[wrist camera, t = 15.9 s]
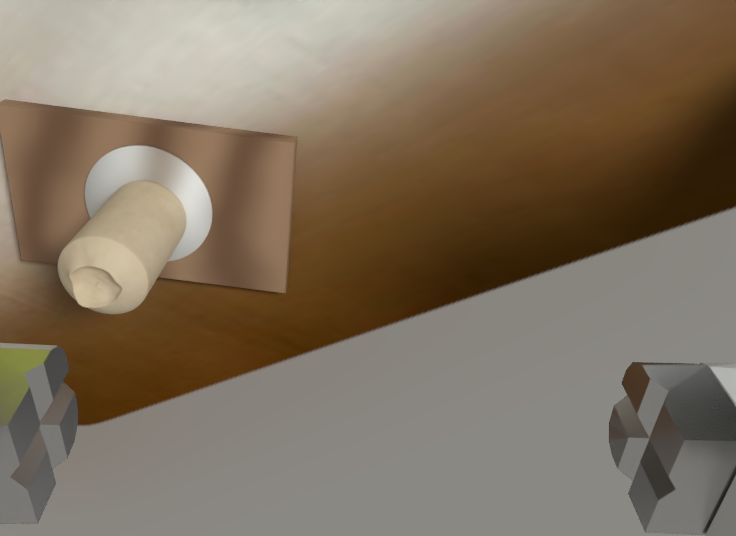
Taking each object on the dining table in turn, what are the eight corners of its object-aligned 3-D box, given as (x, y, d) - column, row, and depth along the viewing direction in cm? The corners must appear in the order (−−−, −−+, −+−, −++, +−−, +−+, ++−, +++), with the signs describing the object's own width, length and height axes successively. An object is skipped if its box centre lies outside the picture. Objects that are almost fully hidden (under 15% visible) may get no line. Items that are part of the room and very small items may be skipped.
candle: (158, 262, 51) (106, 343, 42) (95, 214, 49) (28, 288, 40) (203, 215, 49) (158, 290, 40) (139, 163, 47) (78, 230, 38)
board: (297, 137, 47) (293, 144, 46) (287, 284, 53) (284, 295, 52) (4, 99, 47) (-7, 106, 45) (29, 252, 53) (19, 261, 52)
